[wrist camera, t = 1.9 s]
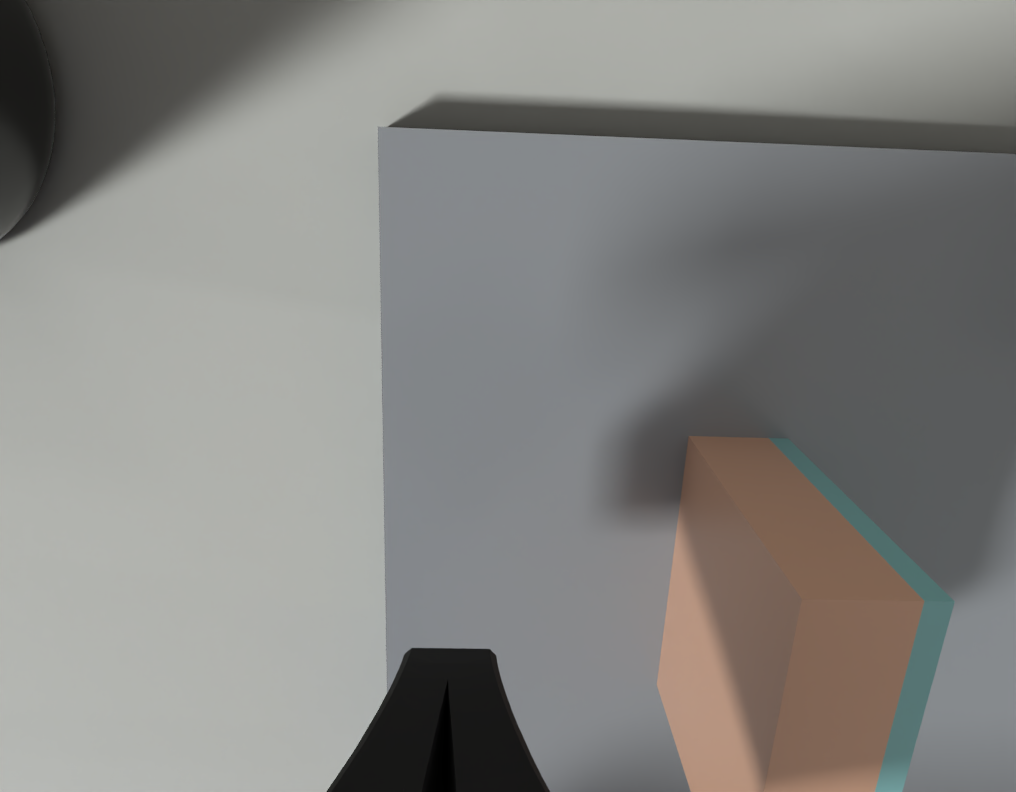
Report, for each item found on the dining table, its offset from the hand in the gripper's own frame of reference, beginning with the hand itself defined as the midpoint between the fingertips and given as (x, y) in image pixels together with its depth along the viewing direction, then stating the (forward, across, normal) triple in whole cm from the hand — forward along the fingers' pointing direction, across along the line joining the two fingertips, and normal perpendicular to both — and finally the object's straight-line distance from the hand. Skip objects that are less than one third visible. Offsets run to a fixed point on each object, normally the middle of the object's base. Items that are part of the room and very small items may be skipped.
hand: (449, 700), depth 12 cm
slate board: (+5, -8, -1) cm, 9 cm away
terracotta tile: (+4, -6, 0) cm, 7 cm away
